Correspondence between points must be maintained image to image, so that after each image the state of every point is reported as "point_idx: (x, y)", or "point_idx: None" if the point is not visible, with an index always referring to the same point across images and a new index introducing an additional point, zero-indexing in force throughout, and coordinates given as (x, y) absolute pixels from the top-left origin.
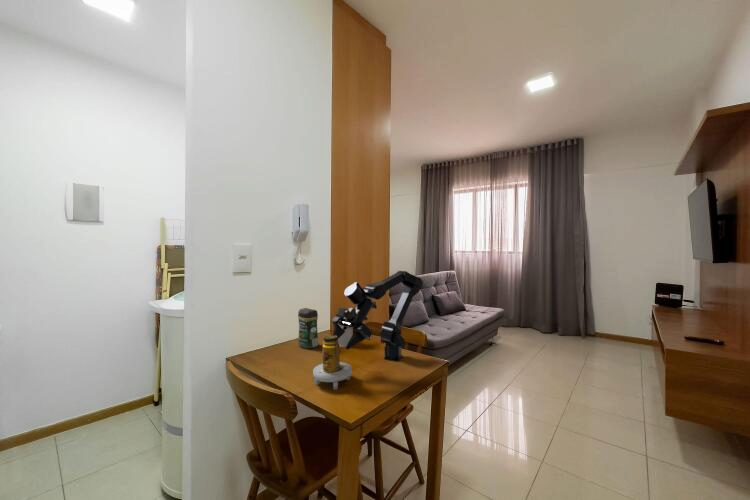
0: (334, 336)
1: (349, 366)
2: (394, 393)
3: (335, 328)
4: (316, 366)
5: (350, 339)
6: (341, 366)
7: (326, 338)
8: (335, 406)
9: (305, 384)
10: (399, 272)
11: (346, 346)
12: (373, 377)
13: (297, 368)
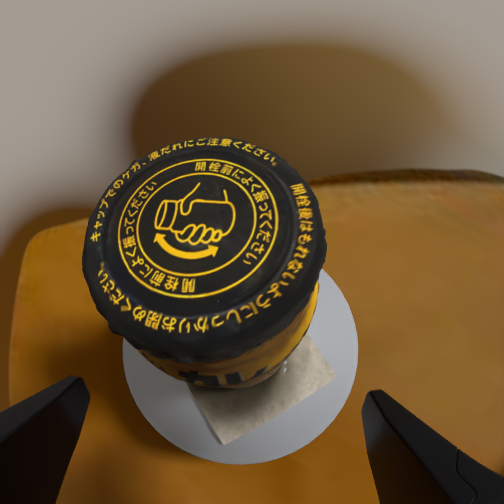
0: (171, 291)
1: (190, 442)
2: None
3: (500, 500)
4: (341, 296)
5: (6, 423)
6: (221, 405)
7: (191, 147)
8: None
9: None
10: None
11: (67, 384)
12: (135, 500)
13: (461, 297)
